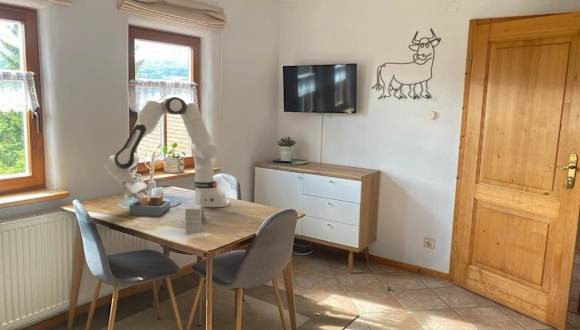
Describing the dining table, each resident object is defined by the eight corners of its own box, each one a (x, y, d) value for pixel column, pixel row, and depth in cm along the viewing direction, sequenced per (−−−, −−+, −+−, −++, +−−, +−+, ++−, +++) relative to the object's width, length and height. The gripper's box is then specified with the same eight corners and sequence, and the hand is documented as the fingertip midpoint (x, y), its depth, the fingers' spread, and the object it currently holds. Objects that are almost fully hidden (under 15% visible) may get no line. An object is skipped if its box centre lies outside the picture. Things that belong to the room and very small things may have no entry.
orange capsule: (150, 208, 254) (149, 195, 252) (146, 211, 249) (146, 197, 247) (141, 208, 254) (141, 194, 253) (138, 210, 249) (137, 196, 248)
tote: (169, 209, 258) (169, 200, 257) (161, 215, 244) (161, 207, 243) (139, 207, 259) (139, 199, 258) (129, 214, 245) (129, 205, 244)
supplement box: (187, 229, 222) (186, 204, 220) (202, 229, 223) (202, 204, 221) (185, 233, 215) (184, 208, 213) (200, 233, 215) (200, 208, 213)
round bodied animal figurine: (181, 220, 236) (180, 205, 234) (199, 216, 244) (199, 201, 243) (189, 223, 231) (188, 208, 230) (207, 219, 240) (207, 204, 238)
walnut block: (162, 209, 253) (161, 195, 252) (159, 211, 248) (158, 197, 247) (153, 209, 254) (153, 195, 252) (150, 211, 249) (149, 197, 247)
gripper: (123, 180, 239) (141, 198, 240) (138, 173, 259) (155, 190, 260) (115, 188, 240) (133, 206, 241) (131, 180, 260) (148, 197, 261)
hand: (145, 198), depth 250 cm, fingers open, 8 cm apart
